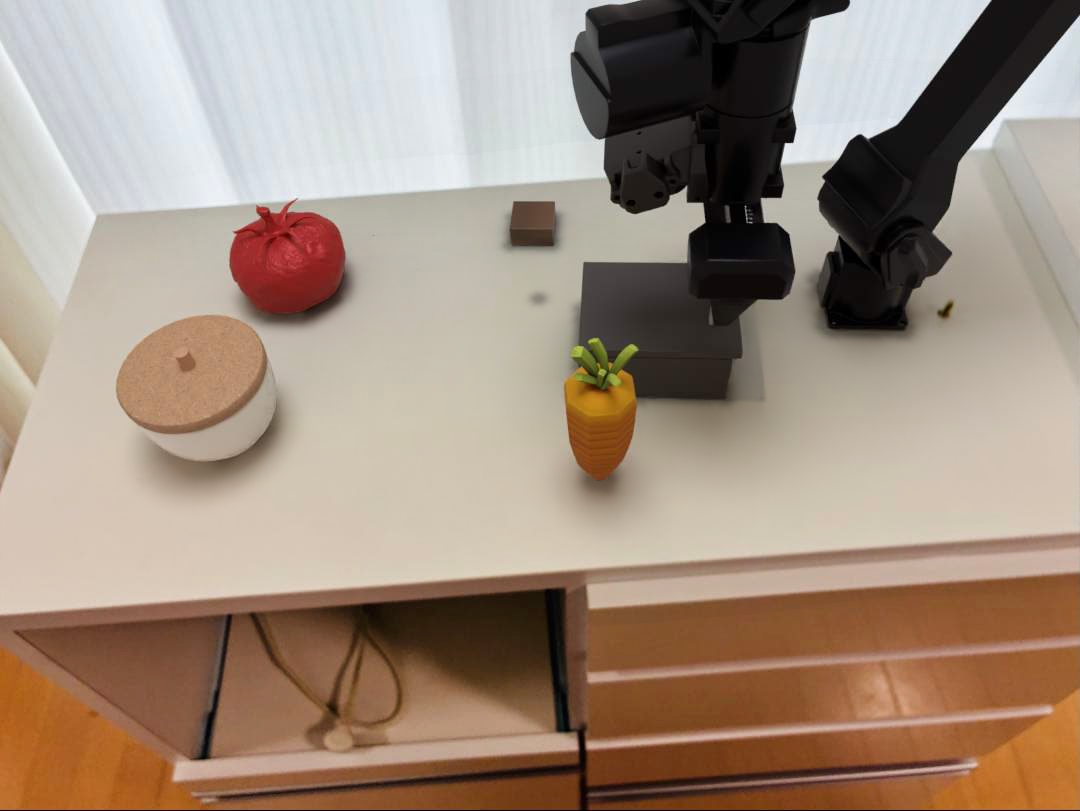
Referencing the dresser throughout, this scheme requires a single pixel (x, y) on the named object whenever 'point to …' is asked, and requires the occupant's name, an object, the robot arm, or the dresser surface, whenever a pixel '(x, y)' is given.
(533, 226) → the walnut block
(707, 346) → the box lid
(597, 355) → the carrot
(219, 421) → the trinket box
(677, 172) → the robot arm
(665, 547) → the dresser surface
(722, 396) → the box
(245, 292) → the red tomato
